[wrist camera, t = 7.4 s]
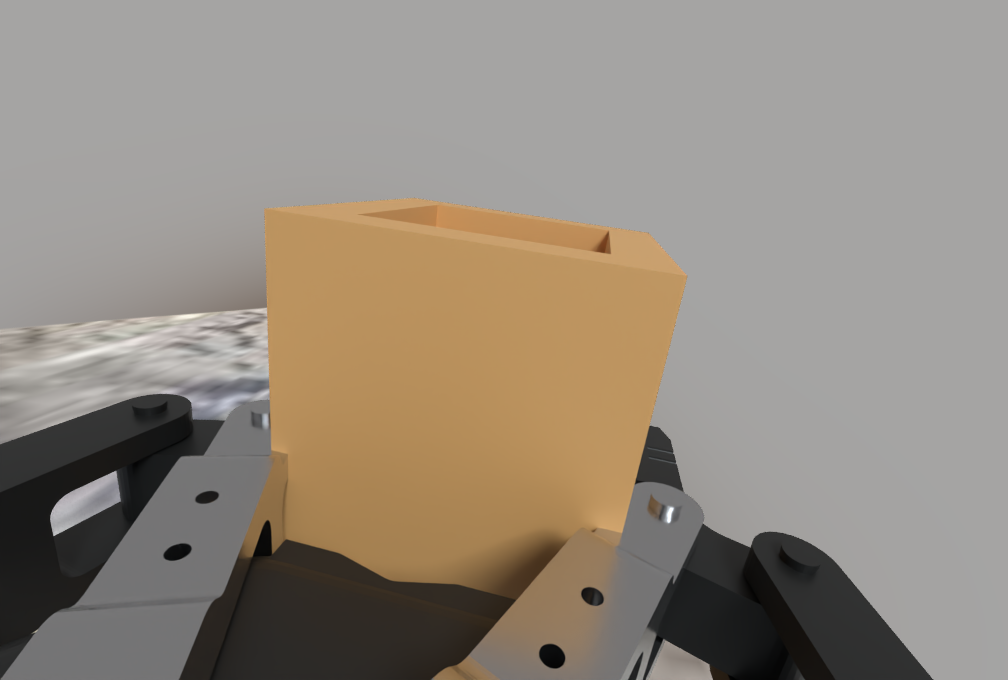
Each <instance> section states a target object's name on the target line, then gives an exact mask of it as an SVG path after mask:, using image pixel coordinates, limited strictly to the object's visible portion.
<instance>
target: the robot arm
mask: <svg viewBox="0 0 1008 680" xmlns="http://www.w3.org/2000/svg"><path fill="white" fill-rule="evenodd" d="M114 471H117V478H118V485H119V492H120V498H121V502H119V503H117V504H115V505H113V506H111V507H109V508H107V509H105V510H103V511H101V512H100V513H98V514H96V515H94V516H92V517H90V518H88V519H86V520H84V521H82V522H80V523H78V524H76V525H75V526H73V527H71V528H69V529H67V530H65V531H63V532H61V533H59V534H57V535H55V536H53V532H52V527H51V522H50V515H51V512H52V510H53V508H54V506H55V505H56V503H57V502H58V501H59V500H60V499H61V498H62V497H63V496H65V495H66V494H68V493H69V492H71V491H73V490H75V489H77V488H80V487H82V486H84V485H86V484H88V483H90V482H92V481H95V480H97V479H99V478H101V477H103V476H105V475H108V474H110V473H112V472H114ZM287 480H288V454H286V453H281V452H277V451H273V450H271V422H270V400H260V401H254V402H250V403H247V404H244V405H241V406H239V407H237V408H236V409H234V410H233V411H232V412H231V413H230V414H229V416H228V417H227V419H226V420H225V421H219V420H193V419H192V407H191V402H190V401H189V400H188V399H187V398H185V397H182V396H178V395H172V394H154V395H146V396H140V397H136V398H132V399H129V400H126V401H123V402H120V403H117V404H114V405H112V406H109V407H106V408H103V409H100V410H97V411H94V412H92V413H89V414H86V415H83V416H80V417H77V418H74V419H72V420H69V421H66V422H63V423H60V424H57V425H54V426H52V427H49V428H46V429H43V430H40V431H37V432H34V433H32V434H29V435H26V436H23V437H20V438H17V439H14V440H12V441H9V442H6V443H3V444H0V680H649V677H650V675H651V673H652V670H653V668H654V666H655V663H656V661H657V659H658V657H659V654H660V652H661V650H662V647H663V645H664V643H665V640H666V641H668V642H670V643H672V644H674V645H675V646H677V647H679V648H681V649H683V650H684V651H686V652H688V653H690V654H692V655H694V656H695V657H697V658H699V659H701V660H703V661H704V662H706V663H708V664H710V672H711V675H712V678H713V680H933V679H932V678H931V677H930V675H929V674H928V673H927V672H926V670H925V669H924V668H923V667H922V666H921V664H920V663H919V662H918V661H917V660H916V659H915V657H914V656H913V655H912V654H911V652H910V651H909V650H908V649H907V648H906V646H905V645H904V644H903V643H902V642H901V640H900V639H899V638H898V637H897V636H896V634H895V633H894V632H893V631H892V630H891V628H890V627H889V626H888V625H887V624H886V622H885V621H884V620H883V619H882V618H881V616H880V615H879V614H878V613H877V611H876V610H875V609H874V608H873V607H872V605H870V603H869V602H868V601H867V600H866V598H865V597H864V596H863V595H862V593H861V592H860V591H859V590H858V589H857V587H856V586H855V585H854V584H853V583H852V581H851V580H850V579H849V578H848V577H847V575H846V574H845V573H844V572H843V571H842V569H841V568H840V567H839V566H838V565H837V564H836V563H835V561H834V560H832V559H831V558H830V557H829V556H828V555H827V554H825V553H824V552H823V551H821V550H820V549H818V548H817V547H815V546H813V545H812V544H810V543H808V542H806V541H804V540H802V539H799V538H797V537H794V536H791V535H787V534H784V533H778V532H764V533H760V534H759V535H757V536H756V537H755V538H754V540H753V542H752V545H751V548H750V547H748V546H745V545H743V544H741V543H738V542H736V541H734V540H731V539H729V538H727V537H725V536H723V535H720V534H718V533H717V532H715V531H713V530H711V529H710V528H708V527H707V526H705V525H704V524H703V521H704V514H703V511H702V509H701V507H700V506H699V505H698V503H697V502H696V501H695V500H693V499H692V498H691V497H690V496H688V495H687V494H685V493H684V492H683V488H682V483H681V480H680V476H679V472H678V468H677V464H676V460H675V456H674V454H673V448H672V444H671V440H670V439H669V438H668V437H667V436H666V435H665V434H664V432H662V430H661V429H660V428H658V427H653V426H649V429H648V433H647V437H646V441H645V445H644V449H643V453H642V457H641V461H640V465H639V469H638V473H637V477H636V481H635V485H634V488H633V492H632V496H631V500H630V504H629V508H628V512H627V516H626V520H625V524H624V528H623V532H622V533H620V532H615V531H611V530H607V529H603V528H597V529H596V531H595V532H594V533H593V532H591V531H589V530H587V529H586V528H580V529H579V530H577V531H576V532H575V534H574V535H573V536H572V537H571V538H570V539H569V540H568V542H567V543H566V544H565V545H564V546H563V547H562V548H561V550H560V551H559V552H558V553H557V554H556V555H555V557H554V558H553V559H552V560H551V561H550V562H549V563H548V565H547V566H546V567H545V568H544V569H543V570H542V571H541V573H540V574H539V575H538V576H537V577H536V578H535V580H534V581H533V582H532V583H531V584H530V585H529V586H528V588H527V589H526V590H525V591H524V592H523V593H522V594H521V596H520V597H519V598H518V599H517V600H515V599H511V598H507V597H504V596H500V595H496V594H492V593H488V592H485V591H481V590H477V589H473V588H470V587H466V586H462V585H458V584H441V583H420V582H399V581H392V580H388V579H386V578H384V577H382V576H380V575H379V574H377V573H375V572H373V571H371V570H369V569H368V568H366V567H364V566H362V565H360V564H359V563H357V562H355V561H353V560H351V559H349V558H348V557H346V556H344V555H342V554H340V553H337V552H333V551H329V550H326V549H322V548H318V547H314V546H310V545H307V544H303V543H299V542H295V541H291V540H288V539H286V540H285V541H284V542H283V529H282V506H283V497H284V491H285V487H286V483H287ZM36 630H37V631H36ZM35 631H36V632H35ZM33 632H35V633H33Z"/></svg>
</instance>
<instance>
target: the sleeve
mask: <svg viewBox="0 0 1008 680" xmlns="http://www.w3.org/2000/svg"><path fill="white" fill-rule="evenodd" d="M264 211H265V245H266V246H265V247H266V281H267V317H268V352H269V387H270V422H271V450H273V451H277V452H281V453H286V454H288V480H287V483H286V487H285V491H284V497H283V506H282V529H283V542H284V541H285V540H286V539H288V540H291V541H295V542H299V543H303V544H307V545H310V546H314V547H318V548H322V549H326V550H329V551H333V552H337V553H340V554H342V555H344V556H346V557H348V558H349V559H351V560H353V561H355V562H357V563H359V564H360V565H362V566H364V567H366V568H368V569H369V570H371V571H373V572H375V573H377V574H379V575H380V576H382V577H384V578H386V579H388V580H392V581H399V582H420V583H441V584H458V585H462V586H466V587H470V588H473V589H477V590H481V591H485V592H488V593H492V594H496V595H500V596H504V597H507V598H511V599H515V600H517V599H518V598H519V597H520V596H521V594H522V593H523V592H524V591H525V590H526V589H527V588H528V586H529V585H530V584H531V583H532V582H533V581H534V580H535V578H536V577H537V576H538V575H539V574H540V573H541V571H542V570H543V569H544V568H545V567H546V566H547V565H548V563H549V562H550V561H551V560H552V559H553V558H554V557H555V555H556V554H557V553H558V552H559V551H560V550H561V548H562V547H563V546H564V545H565V544H566V543H567V542H568V540H569V539H570V538H571V537H572V536H573V535H574V534H575V532H576V531H577V530H579V529H580V528H586V529H587V530H589V531H591V532H593V533H594V532H595V531H596V529H597V528H603V529H607V530H611V531H615V532H620V533H622V532H623V528H624V524H625V520H626V516H627V512H628V508H629V504H630V500H631V496H632V492H633V488H634V485H635V481H636V477H637V473H638V469H639V465H640V461H641V457H642V453H643V449H644V445H645V441H646V437H647V433H648V429H649V425H650V421H651V418H652V414H653V410H654V405H655V402H656V398H657V394H658V390H659V386H660V382H661V378H662V374H663V370H664V366H665V363H666V359H667V355H668V350H669V347H670V343H671V339H672V335H673V331H674V327H675V323H676V319H677V315H678V311H679V307H680V303H681V299H682V296H683V292H684V288H685V284H686V279H687V275H686V274H685V273H684V272H683V271H682V270H681V268H680V267H679V266H678V265H677V264H676V263H675V262H674V261H673V259H672V258H671V257H670V256H669V255H668V254H667V253H666V252H665V251H664V250H663V248H661V246H660V245H659V244H658V243H657V242H656V241H655V239H654V238H653V237H652V236H651V235H650V234H649V233H645V232H638V231H632V230H624V229H619V228H612V227H605V226H598V225H591V224H585V223H578V222H571V221H564V220H558V219H551V218H544V217H538V216H531V215H525V214H518V213H511V212H504V211H498V210H491V209H484V208H477V207H471V206H463V205H457V204H450V203H443V202H437V201H430V200H424V199H417V198H408V199H394V200H380V201H368V202H367V201H366V202H352V203H337V204H323V205H309V206H294V207H280V208H266V209H265V210H264Z"/></svg>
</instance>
